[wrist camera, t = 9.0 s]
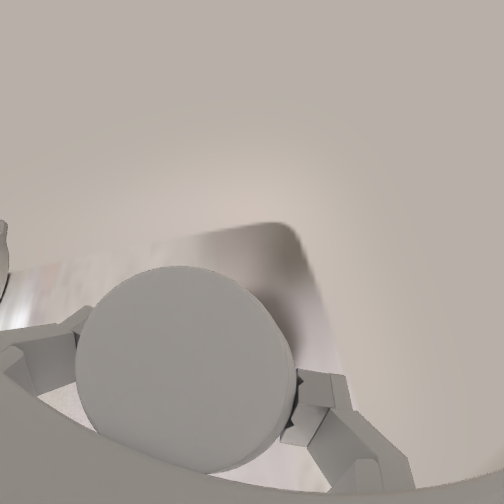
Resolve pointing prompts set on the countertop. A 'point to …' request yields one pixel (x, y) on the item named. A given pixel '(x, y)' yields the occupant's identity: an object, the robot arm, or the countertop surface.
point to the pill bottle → (186, 369)
